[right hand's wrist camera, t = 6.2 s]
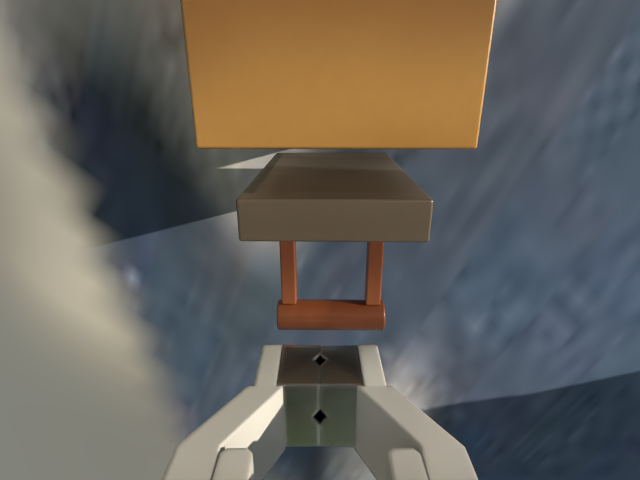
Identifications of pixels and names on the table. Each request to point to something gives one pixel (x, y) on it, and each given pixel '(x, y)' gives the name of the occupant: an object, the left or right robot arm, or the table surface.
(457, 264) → the table surface
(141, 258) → the table surface
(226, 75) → the cabinet
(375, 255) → the drawer
